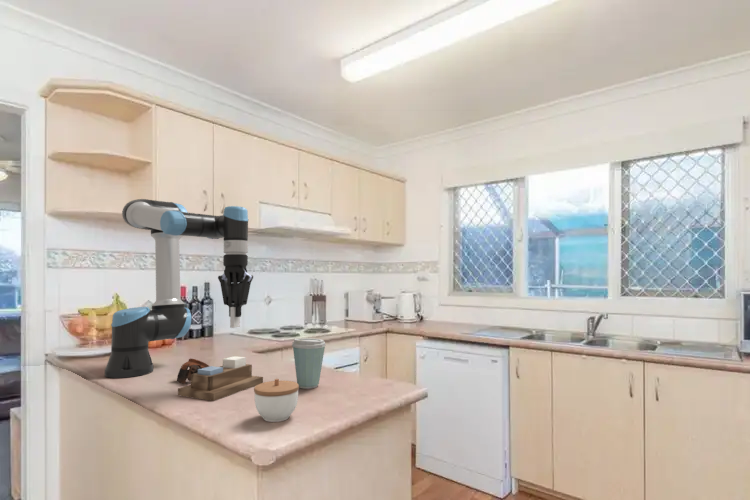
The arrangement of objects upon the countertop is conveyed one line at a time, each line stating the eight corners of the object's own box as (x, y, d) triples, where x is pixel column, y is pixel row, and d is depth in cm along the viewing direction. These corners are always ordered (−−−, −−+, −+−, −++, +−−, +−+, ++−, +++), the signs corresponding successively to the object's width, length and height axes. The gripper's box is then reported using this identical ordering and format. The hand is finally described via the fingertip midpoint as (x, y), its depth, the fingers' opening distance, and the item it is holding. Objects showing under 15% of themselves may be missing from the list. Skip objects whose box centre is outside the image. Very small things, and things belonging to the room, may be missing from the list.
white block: (222, 371, 134) (222, 359, 134) (233, 368, 138) (234, 356, 138) (234, 373, 132) (234, 360, 132) (245, 369, 136) (246, 357, 136)
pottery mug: (173, 381, 142) (185, 357, 146) (200, 391, 145) (211, 368, 149) (175, 379, 132) (188, 354, 136) (203, 390, 135) (215, 365, 139)
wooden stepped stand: (177, 395, 123) (178, 374, 124) (229, 379, 142) (230, 361, 143) (213, 400, 118) (214, 379, 118) (262, 383, 137) (263, 364, 137)
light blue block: (197, 383, 124) (197, 369, 125) (210, 379, 129) (210, 366, 129) (210, 384, 122) (210, 370, 123) (222, 380, 127) (223, 367, 127)
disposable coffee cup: (306, 380, 140) (306, 335, 141) (332, 384, 134) (332, 337, 135) (284, 388, 131) (284, 339, 132) (311, 392, 125) (311, 341, 126)
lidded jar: (306, 419, 102) (306, 380, 103) (263, 429, 96) (263, 387, 96) (287, 408, 111) (288, 372, 111) (247, 416, 105) (248, 378, 105)
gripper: (211, 254, 136) (210, 327, 135) (243, 252, 131) (242, 329, 129) (228, 255, 143) (228, 325, 142) (259, 253, 138) (258, 326, 136)
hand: (235, 327), depth 135 cm, fingers closed
